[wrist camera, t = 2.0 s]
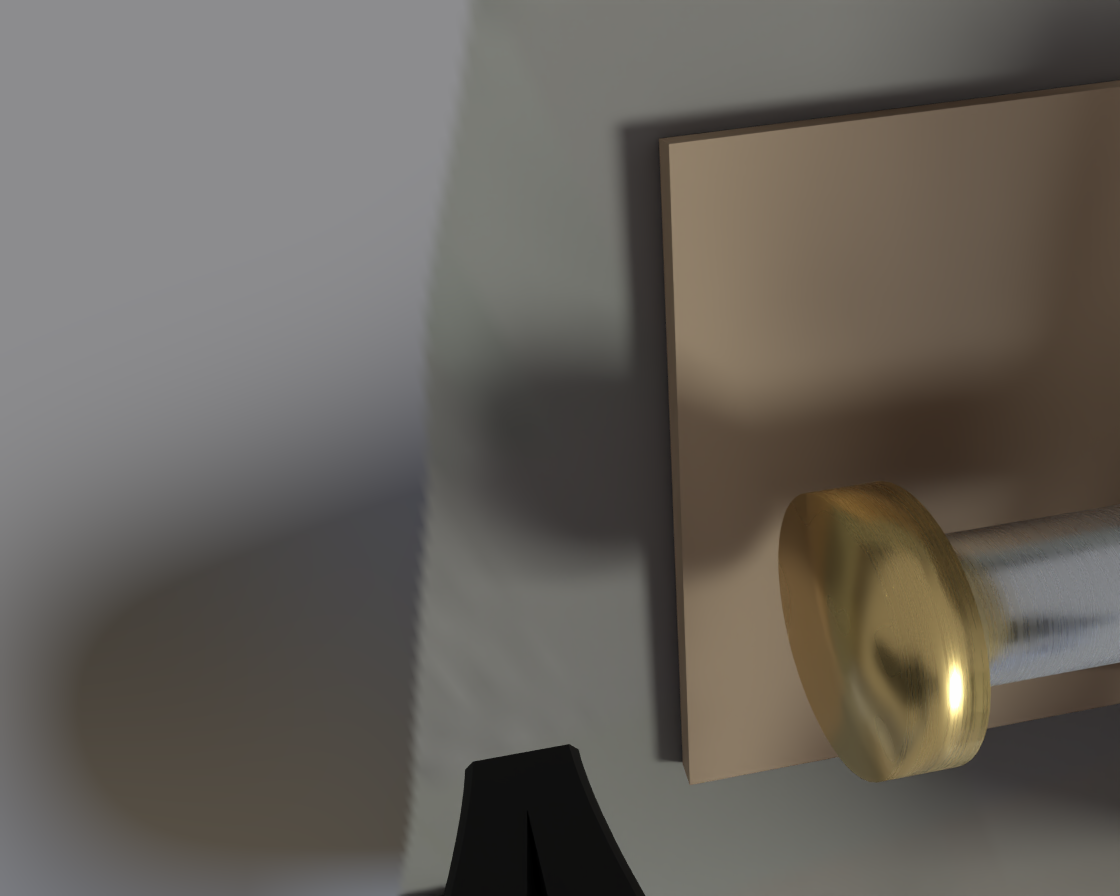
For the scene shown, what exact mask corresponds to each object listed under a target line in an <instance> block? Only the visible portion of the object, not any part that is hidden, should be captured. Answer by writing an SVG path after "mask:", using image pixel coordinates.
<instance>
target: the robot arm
mask: <svg viewBox="0 0 1120 896" xmlns="http://www.w3.org/2000/svg"><path fill="white" fill-rule="evenodd" d="M443 896H645V894H644V893H643V891H642V889H641V887H640V885H639V884H638V882H637V880H636V878H635V877H634V875H633V873H632V871H631V869H630V868H629V866H628V864H627V862H626V860H625V858H624V856H623V854H622V853H621V851H620V849H619V847H618V845H617V843H616V841H615V839H614V837H613V835H612V833H611V831H610V828H609V826H608V824H607V822H606V820H605V818H604V816H603V814H602V812H601V809H600V807H599V805H598V803H597V800H596V798H595V796H594V793H593V791H592V788H591V786H590V783H589V781H588V778H587V775H586V772H585V770H584V767H583V764H582V761H581V757H580V753H579V750H578V749H577V748H575V747H573V746H571V745H570V744H568V745H562V746H557V747H551V748H546V749H540V750H535V751H529V752H524V753H518V754H513V755H507V756H502V757H496V758H491V759H485V760H480V761H474V762H472V763H471V764H470V765H469V766H468V767H467V768H466V769H465V780H464V792H463V800H462V807H461V814H460V820H459V826H458V832H457V837H456V842H455V847H454V852H453V857H452V861H451V866H450V871H449V875H448V880H447V883H446V887H445V891H444V895H443Z"/></svg>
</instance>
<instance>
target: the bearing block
mask: <svg viewBox="0 0 1120 896" xmlns="http://www.w3.org/2000/svg"><path fill="white" fill-rule="evenodd" d="M659 152H660V178H661V204H662V230H663V257H664V283H665V309H666V335H667V362H668V388H669V414H670V440H671V467H672V493H673V519H674V545H675V572H676V598H677V624H678V650H679V677H680V703H681V729H682V755H683V766H684V769H685V772H686V775H687V778H688V781H689V784H690V785H693V784H698V783H704V782H709V781H714V780H719V779H725V778H730V777H735V776H740V775H746V774H751V773H756V772H762V771H767V770H772V769H777V768H783V767H788V766H793V765H798V764H804V763H809V762H814V761H819V760H825V759H830V758H835V757H839V756H838V755H837V754H836V752H835V751H834V749H833V748H832V746H831V745H830V743H829V741H828V740H827V738H826V736H825V735H824V733H823V731H822V729H821V727H820V725H819V723H818V721H817V719H816V717H815V715H814V713H813V711H812V708H811V706H810V704H809V701H808V699H807V696H806V694H805V691H804V689H803V686H802V683H801V680H800V677H799V674H798V671H797V668H796V665H795V662H794V658H793V655H792V651H791V647H790V643H789V639H788V635H787V630H786V626H785V620H784V615H783V609H782V602H781V595H780V585H779V571H778V549H779V537H780V530H781V525H782V521H783V517H784V514H785V512H786V509H787V507H788V506H789V504H790V502H791V501H792V500H793V499H794V498H795V497H796V496H798V495H800V494H803V493H809V492H815V491H821V490H827V489H833V488H840V487H846V486H852V485H858V484H864V483H870V482H877V481H885V482H891V483H893V484H896V485H898V486H900V487H902V488H903V489H905V490H906V491H908V492H910V493H911V494H912V495H913V496H914V497H915V498H916V499H918V500H919V501H920V502H921V503H922V505H923V506H924V507H925V508H926V509H927V510H928V511H929V512H930V513H931V515H932V516H933V518H934V519H935V520H936V522H937V523H938V524H939V526H940V527H941V529H942V530H943V532H944V534H947V533H953V532H959V531H964V530H970V529H976V528H982V527H988V526H994V525H1000V524H1006V523H1012V522H1017V521H1023V520H1029V519H1035V518H1041V517H1047V516H1053V515H1059V514H1065V513H1070V512H1076V511H1082V510H1088V509H1094V508H1100V507H1106V506H1112V505H1118V504H1120V80H1117V81H1110V82H1102V83H1094V84H1086V85H1078V86H1070V87H1062V88H1054V89H1047V90H1039V91H1031V92H1023V93H1015V94H1007V95H999V96H991V97H984V98H976V99H968V100H960V101H952V102H944V103H936V104H928V105H920V106H913V107H905V108H897V109H889V110H881V111H873V112H865V113H857V114H850V115H842V116H834V117H826V118H818V119H810V120H802V121H794V122H787V123H779V124H771V125H763V126H755V127H747V128H739V129H731V130H723V131H716V132H708V133H700V134H692V135H684V136H676V137H668V138H660V139H659ZM1114 704H1120V663H1114V664H1109V665H1104V666H1098V667H1093V668H1087V669H1082V670H1077V671H1071V672H1066V673H1061V674H1055V675H1050V676H1044V677H1039V678H1034V679H1028V680H1023V681H1017V682H1012V683H1007V684H1001V685H996V686H991V698H990V713H989V720H988V726H987V729H988V728H993V727H999V726H1004V725H1009V724H1014V723H1020V722H1025V721H1030V720H1035V719H1041V718H1046V717H1051V716H1056V715H1062V714H1067V713H1072V712H1078V711H1083V710H1088V709H1093V708H1099V707H1104V706H1109V705H1114Z"/></svg>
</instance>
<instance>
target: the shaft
mask: <svg viewBox="0 0 1120 896" xmlns="http://www.w3.org/2000/svg"><path fill="white" fill-rule="evenodd" d="M778 571H779V585H780V595H781V602H782V609H783V615H784V620H785V626H786V630H787V635H788V639H789V643H790V647H791V651H792V655H793V658H794V662H795V665H796V668H797V671H798V674H799V677H800V680H801V683H802V686H803V689H804V691H805V694H806V696H807V699H808V701H809V704H810V706H811V708H812V711H813V713H814V715H815V717H816V719H817V721H818V723H819V725H820V727H821V729H822V731H823V733H824V735H825V736H826V738H827V740H828V741H829V743H830V745H831V746H832V748H833V749H834V751H835V752H836V754H837V755H838V756H839V758H840V759H841V760H842V761H843V762H844V764H845V765H846V766H847V767H848V768H849V769H850V770H851V771H852V772H853V773H854V774H856V775H857V776H859V777H860V778H862V779H864V780H866V781H869V782H882V781H887V780H892V779H898V778H903V777H908V776H913V775H918V774H923V773H929V772H934V771H939V770H944V769H949V768H955V767H958V766H962V765H964V764H966V763H967V762H969V761H970V760H971V759H972V758H973V757H974V756H975V754H976V753H977V752H978V750H979V748H980V746H981V744H982V742H983V740H984V737H985V733H986V730H987V726H988V720H989V713H990V698H991V686H996V685H1001V684H1007V683H1012V682H1017V681H1023V680H1028V679H1034V678H1039V677H1044V676H1050V675H1055V674H1061V673H1066V672H1071V671H1077V670H1082V669H1087V668H1093V667H1098V666H1104V665H1109V664H1114V663H1120V504H1118V505H1112V506H1106V507H1100V508H1094V509H1088V510H1082V511H1076V512H1070V513H1065V514H1059V515H1053V516H1047V517H1041V518H1035V519H1029V520H1023V521H1017V522H1012V523H1006V524H1000V525H994V526H988V527H982V528H976V529H970V530H964V531H959V532H953V533H947V534H944V532H943V530H942V529H941V527H940V526H939V524H938V523H937V522H936V520H935V519H934V518H933V516H932V515H931V513H930V512H929V511H928V510H927V509H926V508H925V507H924V506H923V505H922V503H921V502H920V501H919V500H918V499H916V498H915V497H914V496H913V495H912V494H911V493H910V492H908V491H906V490H905V489H903V488H902V487H900V486H898V485H896V484H893V483H891V482H885V481H877V482H870V483H864V484H858V485H852V486H846V487H840V488H833V489H827V490H821V491H815V492H809V493H803V494H800V495H798V496H796V497H795V498H794V499H793V500H792V501H791V502H790V504H789V506H788V507H787V509H786V512H785V514H784V517H783V521H782V525H781V530H780V537H779V549H778Z"/></svg>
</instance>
